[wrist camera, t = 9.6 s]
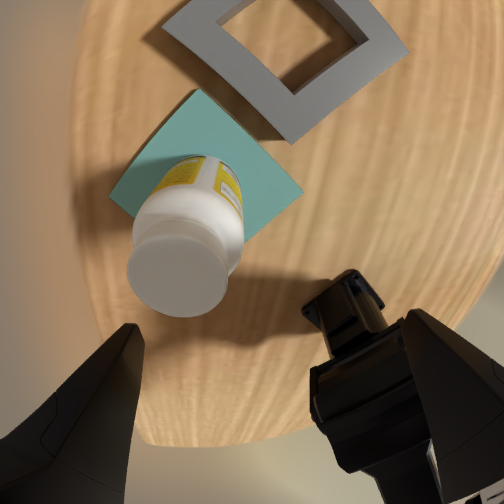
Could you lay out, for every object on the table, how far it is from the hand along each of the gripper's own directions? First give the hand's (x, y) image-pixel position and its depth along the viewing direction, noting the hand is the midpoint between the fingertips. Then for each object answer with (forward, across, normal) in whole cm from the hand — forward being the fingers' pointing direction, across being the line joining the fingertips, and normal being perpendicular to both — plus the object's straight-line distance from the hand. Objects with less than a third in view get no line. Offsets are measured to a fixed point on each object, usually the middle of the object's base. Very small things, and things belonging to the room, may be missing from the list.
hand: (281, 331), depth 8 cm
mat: (+13, +4, 0) cm, 13 cm away
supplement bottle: (+12, +4, 0) cm, 13 cm away
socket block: (+13, -2, -12) cm, 17 cm away
